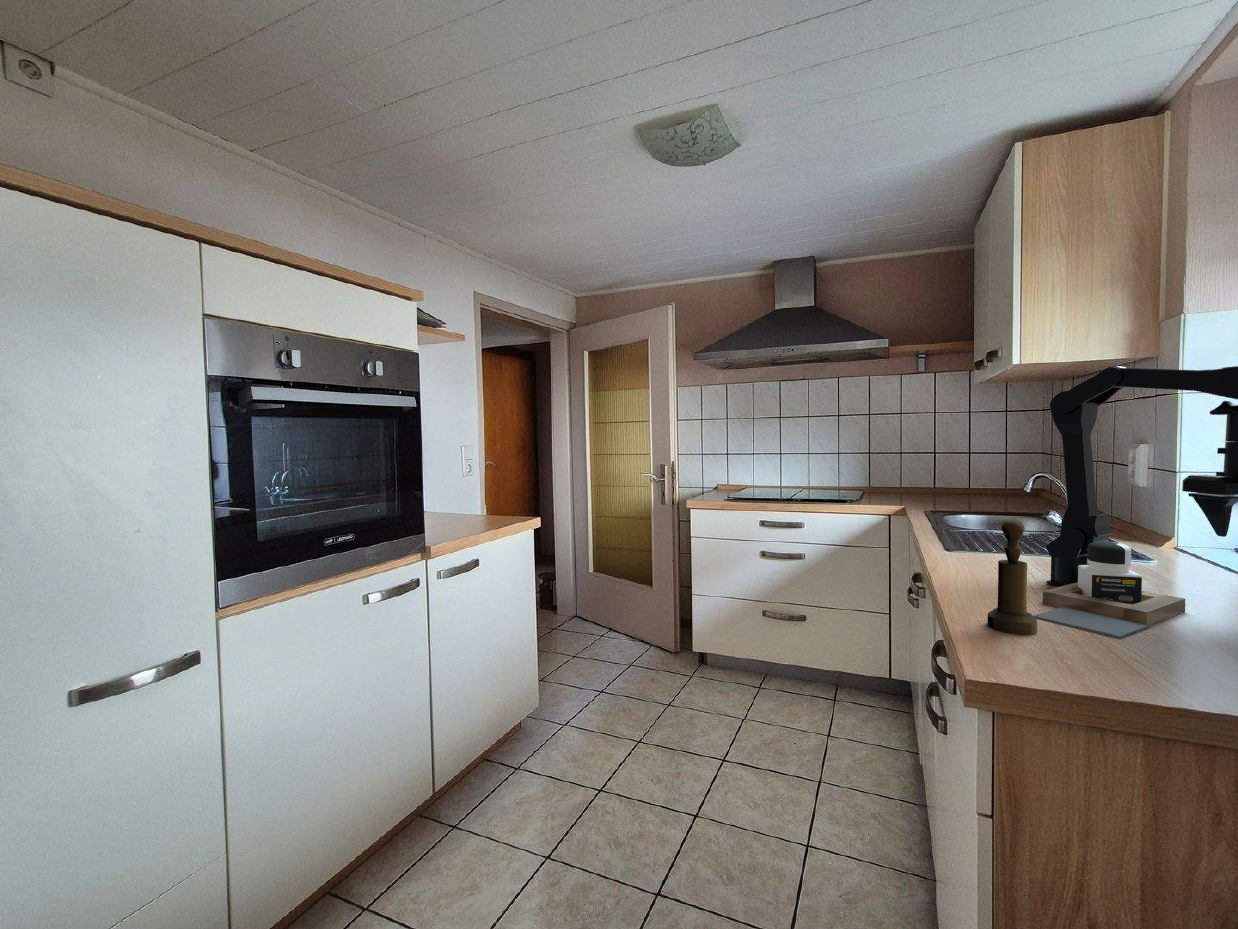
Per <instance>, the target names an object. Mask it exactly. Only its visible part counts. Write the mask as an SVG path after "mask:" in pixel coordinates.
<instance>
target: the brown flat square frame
mask: <svg viewBox="0 0 1238 929" xmlns="http://www.w3.org/2000/svg"><path fill="white" fill-rule="evenodd" d="M1042 604H1044V605H1048V606H1054V607H1056V608H1060V607H1067V608H1072V609H1077V610H1081V611H1086V612H1091V613H1095V614H1100V615H1105V616H1109V617H1114V618H1119V619H1123V620H1128V621H1132V622H1137V623H1142V624H1146V625H1149V627H1150V626H1152V625H1154V624H1158V623H1160V622H1163V621H1166V620H1168V619H1172V618H1174V617H1176V616H1177V617H1178V616H1179V615H1182V614H1184V613H1186V598H1183V597H1179V596H1173V595H1167V594H1161V593H1156V592H1150V591H1145V590H1142V600H1141V602H1139V603H1136V604H1133V605H1131V604H1126V603H1120V602H1115V601H1110V600H1105V599H1100V598H1095V597H1090V596H1085V595H1082V589H1081V588H1079V587H1078V582H1076V583H1072V584H1069V585H1065V586H1058V587H1054V588H1050V589H1046V590H1043V591H1042ZM1181 613H1182V614H1181Z"/></svg>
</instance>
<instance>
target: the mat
mask: <svg viewBox="0 0 1238 929" xmlns="http://www.w3.org/2000/svg"><path fill="white" fill-rule="evenodd" d="M1032 616H1033V617H1035V618H1036V619H1037V620H1042V621H1045V622H1050V623H1053V624H1058V625H1062V626H1065V627H1070V628H1074V629H1078V630H1080V631H1081V630H1083V631H1085V632H1090V633H1094V634H1098V635H1103V636H1107V637H1110V638H1115V639H1118V640H1122V639H1123V638H1126V637H1129V636H1132V635H1135V634H1138V633H1140V632H1143V631H1145V630H1148V629H1150V626H1149V625H1146V624H1142V623H1137V622H1132V621H1128V620H1123V619H1119V618H1114V617H1109V616H1105V615H1100V614H1095V613H1091V612H1086V611H1081V610H1077V609H1072V608H1067V607H1056V608H1053V609H1050V610H1047V611H1044V612H1040V613H1036V614H1034V615H1033V614H1032Z"/></svg>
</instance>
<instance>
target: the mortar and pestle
mask: <svg viewBox="0 0 1238 929" xmlns="http://www.w3.org/2000/svg"><path fill="white" fill-rule="evenodd" d="M1001 532H1002V533H1003V535H1004V536H1005V538H1006V540H1007V544H1006V545H1005V546H1003V547H1004V552H1005V557H1006V558H1007V559H999V560H998V561H997V578H998V579H997V607H995V608H993V609H992V610H991V611H989V612H988V613H987V623H986V626H987V627H988V628H989V629H990V630H991V629H992V630H993V631H996V632H1000V633H1003V634H1009V635H1015V636H1033V635H1036V634H1037V633H1038V619H1037V618H1035V617H1033V614H1032V613H1030V612H1028V598H1027V596H1028V562H1026V561H1021V560H1019V559H1020V556H1021V553H1022V547H1021V546H1020V545H1019V540H1020V539H1021V537H1022V536H1023V534H1024V533H1025V525H1024V523H1023V522H1022V521H1020V520H1019V519H1016V518H1009V519H1005V520H1004V521H1003V522H1002V524H1001Z"/></svg>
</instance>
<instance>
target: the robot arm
mask: <svg viewBox="0 0 1238 929" xmlns="http://www.w3.org/2000/svg"><path fill="white" fill-rule="evenodd" d="M1123 388H1136V389H1137V388H1138V389H1139V388H1140V389H1155V390H1173V391H1177V390H1178V391H1191V392H1192V391H1194V392H1199V393H1203V394H1204V393H1205V394H1207V395H1208V394H1209V395H1212V396H1218V397H1223V398H1229V399H1233V400H1238V365H1236V366H1235V365H1234V366H1225V367H1218V368H1209V369H1198V370H1197V369H1171V368H1169V369H1167V368H1166V369H1165V368H1144V367H1143V368H1137V367H1125V366H1118V365H1117V366H1115V365H1113V366H1108V367H1106V368H1105V369H1103V370H1101V371H1100V372H1099V373H1096V375H1094V376H1092V377H1090V378H1087V379H1086V380H1084V381H1082V382H1080V383H1078V384H1077V385H1075V386H1073V387H1072V388H1070V389H1069V390H1064V391H1061V392H1058V393H1056V394H1055V395H1054V396H1053V398H1051V400H1050V402H1049V411H1050V413H1051V414H1050V415H1051V417H1052V421H1053V423H1054V424H1053V425H1055V427H1056V429H1057V431H1058V433H1059V434H1060V436H1061V443H1062V451H1063V452H1062V453H1063V454H1062V455H1063V467H1064V479H1065V480H1064V481H1065V492H1066V509H1065V510H1064V513H1063V516H1062V518H1061V523H1060V530H1059V536H1057V537H1056V538H1054V539H1053V540H1052V541H1050V542H1049V543H1048V544H1046V545H1045V548H1046V551H1047V553H1048V556H1050V579H1048V580H1046V584H1048V585H1053V586H1058V587H1061V586H1065V585H1069V584H1072V583H1076V582H1078V566H1079V565H1090V564H1088V563H1087V555H1088V545H1089V544H1090V543H1093V542H1109V538H1110V535H1113V534H1114V533H1113V531H1112V529H1111V524H1110V523H1111V513H1102V512H1101V510H1100V508H1099V507H1098V505H1097V500H1096V486H1095V485H1096V484H1095V474H1094V472H1095V471H1094V462H1093V449H1092V438H1091V436H1092V432H1093V429H1094V427H1095V425H1096V422H1097V419H1098V418H1097V416H1098V410H1099V409H1098V408H1099V406H1101V405H1103V404H1105V403H1106V402H1108V401H1109V400H1110V399H1112V397H1113V396H1115V395H1116V394H1117V393H1118V392H1119V391H1121V390H1122V389H1123ZM1209 414H1210V415H1212V416H1220V415H1221V416H1226V424H1225V427H1226V428H1225V437H1224V438H1225V441H1224V447H1217V451H1216V452H1217V454H1221V455H1224V459H1223V471H1216V472H1215V475H1214V474H1213V475H1212V474H1211V475H1209V474H1192V475H1191V474H1190V475H1188V476H1186V477H1185V478H1184V479H1182V485H1181V486H1182V487H1181V489H1182V490H1181V491H1182V492H1187V493H1188V497H1191V498H1193V500H1194V501H1195V503H1197V505H1198V507H1199V508H1200V509H1201V511H1202V513H1203V514H1204V515H1205V517H1206V520H1207V522H1209V524H1210V525H1211V528H1212V529H1213V531H1214V533H1215V535H1216V536H1217V537H1224V538H1225V537H1227V535H1228V531H1229V528H1230V523H1231V517H1232V512H1233V511H1232V510H1233V506H1234V505H1236V504H1237V503H1238V496H1237V495H1238V404H1235V403H1232V402H1231V401H1230V400H1224V401H1221V403H1220V404H1219V405H1218V406H1216V407H1215V408H1213V409H1211V410H1210V411H1209Z"/></svg>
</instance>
